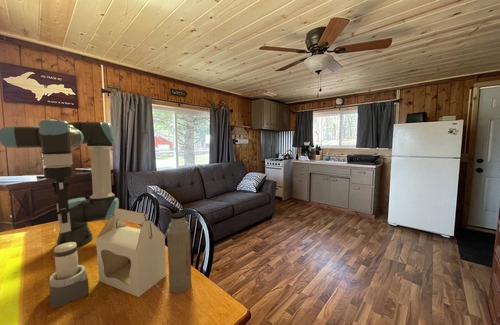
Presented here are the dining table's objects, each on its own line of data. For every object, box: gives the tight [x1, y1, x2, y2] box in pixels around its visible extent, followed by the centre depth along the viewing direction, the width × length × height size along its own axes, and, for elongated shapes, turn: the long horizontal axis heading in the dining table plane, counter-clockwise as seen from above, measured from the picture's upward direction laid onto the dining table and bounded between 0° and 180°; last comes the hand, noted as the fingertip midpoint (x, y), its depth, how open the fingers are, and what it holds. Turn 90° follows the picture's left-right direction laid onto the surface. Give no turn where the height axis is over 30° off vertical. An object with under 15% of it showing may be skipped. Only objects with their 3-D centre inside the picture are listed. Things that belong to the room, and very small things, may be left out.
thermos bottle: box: [166, 212, 192, 294], centre depth 80 cm, size 8×8×28 cm
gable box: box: [95, 207, 167, 298], centre depth 84 cm, size 22×13×28 cm, turn 67°
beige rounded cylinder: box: [53, 242, 79, 280], centre depth 76 cm, size 6×6×12 cm
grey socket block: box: [48, 264, 90, 310], centre depth 77 cm, size 10×10×8 cm
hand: (64, 225), depth 76 cm, fingers open, 13 cm apart
